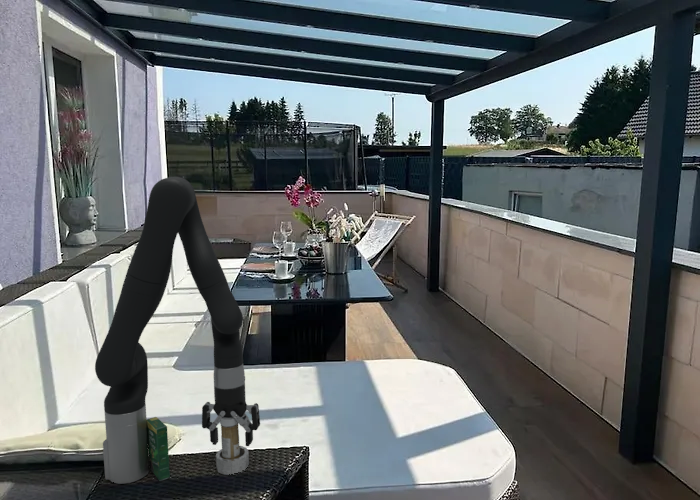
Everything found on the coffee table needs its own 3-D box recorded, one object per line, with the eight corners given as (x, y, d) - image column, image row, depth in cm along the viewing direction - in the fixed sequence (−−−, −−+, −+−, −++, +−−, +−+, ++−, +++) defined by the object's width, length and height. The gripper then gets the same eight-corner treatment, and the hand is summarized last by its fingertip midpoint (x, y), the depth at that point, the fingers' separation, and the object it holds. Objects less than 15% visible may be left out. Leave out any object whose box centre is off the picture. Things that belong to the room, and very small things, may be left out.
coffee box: (148, 468, 130) (145, 418, 128) (159, 464, 132) (157, 415, 130) (158, 482, 123) (155, 429, 122) (170, 477, 125) (167, 426, 124)
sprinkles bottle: (243, 467, 130) (241, 416, 128) (225, 473, 127) (223, 421, 126) (236, 459, 133) (234, 410, 132) (219, 465, 131) (217, 414, 129)
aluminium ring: (212, 474, 127) (211, 460, 126) (223, 457, 134) (222, 445, 134) (243, 475, 126) (242, 461, 126) (252, 459, 134) (251, 446, 133)
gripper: (195, 386, 125) (198, 450, 127) (253, 388, 123) (255, 452, 125) (207, 376, 132) (210, 436, 134) (261, 377, 131) (263, 438, 133)
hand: (231, 444), depth 130 cm, fingers open, 8 cm apart
